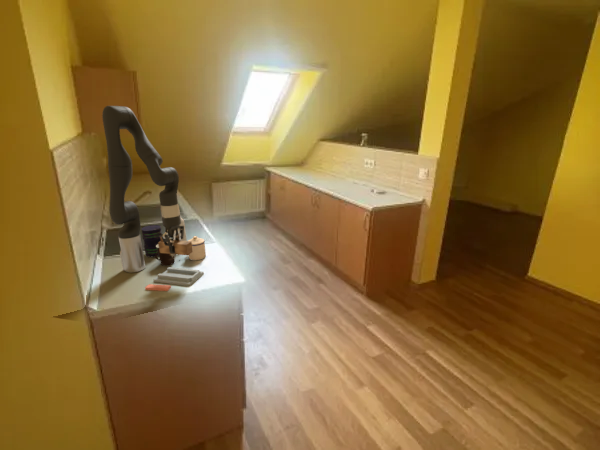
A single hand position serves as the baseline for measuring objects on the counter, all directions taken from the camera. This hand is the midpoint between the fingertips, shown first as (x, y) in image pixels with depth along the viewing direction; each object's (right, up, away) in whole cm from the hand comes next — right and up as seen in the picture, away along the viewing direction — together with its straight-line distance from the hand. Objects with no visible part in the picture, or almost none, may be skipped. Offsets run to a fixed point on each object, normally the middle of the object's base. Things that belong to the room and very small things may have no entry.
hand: (175, 251), depth 146 cm
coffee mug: (-13, -8, +19) cm, 24 cm away
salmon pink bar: (-5, -16, -5) cm, 18 cm away
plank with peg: (0, -1, 0) cm, 1 cm away
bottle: (-12, -1, +40) cm, 42 cm away
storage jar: (-23, -4, +32) cm, 40 cm away
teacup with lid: (0, -5, +28) cm, 28 cm away
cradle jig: (0, -13, +4) cm, 13 cm away
